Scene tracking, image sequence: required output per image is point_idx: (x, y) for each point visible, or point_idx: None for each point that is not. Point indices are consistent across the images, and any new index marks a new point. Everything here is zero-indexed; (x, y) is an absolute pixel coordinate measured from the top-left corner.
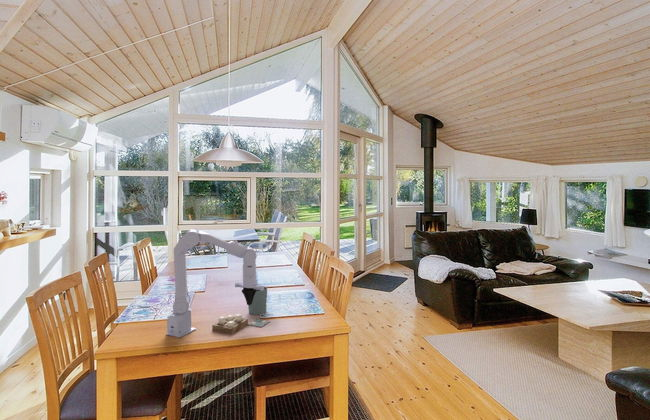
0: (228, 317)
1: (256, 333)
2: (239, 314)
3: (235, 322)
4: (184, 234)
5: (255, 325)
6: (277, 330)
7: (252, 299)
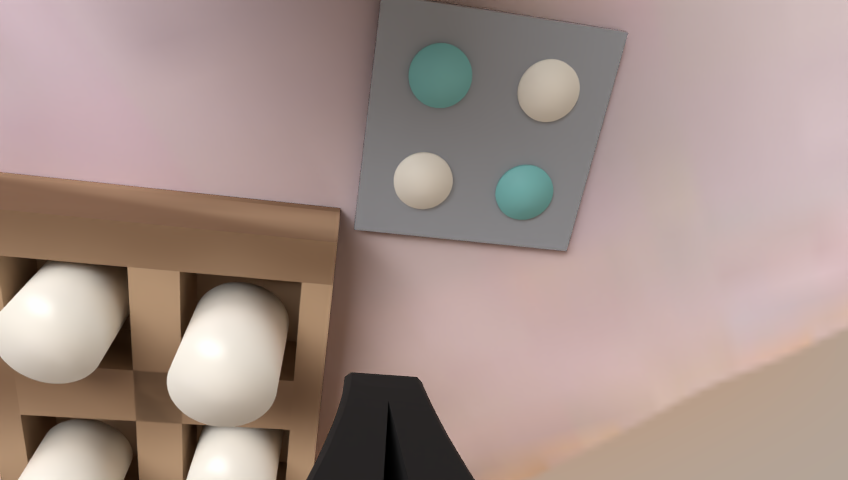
0: (62, 381)
1: (563, 394)
2: (220, 365)
3: None
4: None
5: (475, 240)
6: (784, 266)
7: (444, 457)
